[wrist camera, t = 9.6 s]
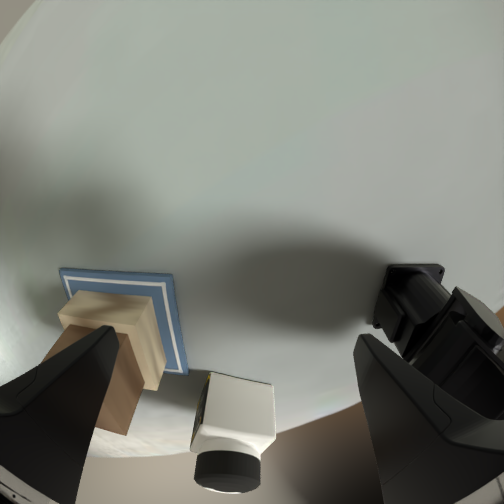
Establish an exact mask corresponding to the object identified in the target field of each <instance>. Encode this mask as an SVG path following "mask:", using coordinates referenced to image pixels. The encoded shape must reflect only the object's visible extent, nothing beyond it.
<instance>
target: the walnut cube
mask: <svg viewBox="0 0 504 504" xmlns="http://www.w3.org/2000/svg"><path fill="white" fill-rule="evenodd" d="M94 330H96V329H93V328H88V327H82V326H77V325H72V324H69V326H68V327H67V328H66V329H65V331H64V332H63V333H62V335H61V336H60V337H59V339H58V340H57V341H56V343H55V344H54V345H53V347H52V348H51V349H50V351H49V352H48V354H47V355H46V356H45V358H44V359H43V361H42V362H44V361H45V360H47V359H49V358H50V357H52V356H53V355H55V354H57V353H58V352H60V351H62V350H63V349H65V348H66V347H68V346H70V345H71V344H73V343H74V342H76V341H78V340H79V339H81V338H83V337H84V336H86V335H88V334H89V333H91V332H92V331H94ZM116 334H117V337H118V340H119V344H120V346H119V351H118V355H117V358H116V362H115V366H114V370H113V374H112V378H111V381H110V384H109V387H108V390H107V392H106V395H105V398H104V401H103V404H102V407H101V410H100V413H99V416H98V419H97V422H96V425H95V427H97V428H100V429H104V430H107V431H110V432H114V433H117V434H121V435H125V436H126V435H127V432H128V429H129V426H130V423H131V420H132V417H133V415H134V412H135V409H136V406H137V403H138V400H139V398H140V395H141V392H142V390H143V387H144V384H145V381H144V379H143V376H142V374H141V371H140V368H139V365H138V363H137V360H136V357H135V354H134V351H133V348H132V345H131V342H130V339H129V336H128V334H125V333H118V332H116ZM42 362H41V363H42ZM41 363H40V364H41Z"/></svg>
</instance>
